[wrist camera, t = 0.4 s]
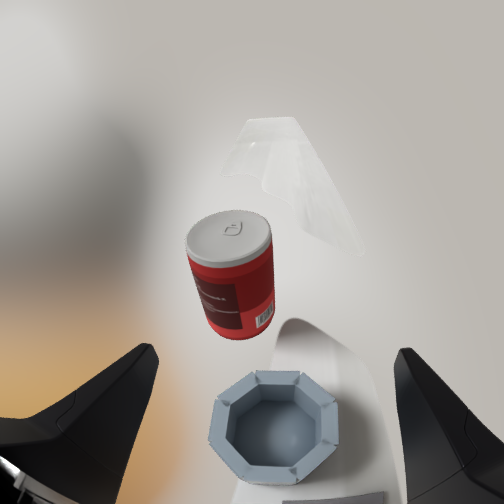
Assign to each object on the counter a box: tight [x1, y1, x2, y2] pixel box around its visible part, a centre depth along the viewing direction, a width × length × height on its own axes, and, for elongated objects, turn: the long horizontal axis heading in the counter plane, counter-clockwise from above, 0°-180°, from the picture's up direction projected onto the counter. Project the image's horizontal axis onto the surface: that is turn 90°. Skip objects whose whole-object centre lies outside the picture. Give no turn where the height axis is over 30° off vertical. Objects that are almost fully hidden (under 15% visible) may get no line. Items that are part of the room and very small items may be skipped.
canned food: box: [185, 210, 275, 340], centre depth 27 cm, size 8×8×11 cm
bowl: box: [208, 370, 339, 485], centre depth 18 cm, size 9×9×4 cm
